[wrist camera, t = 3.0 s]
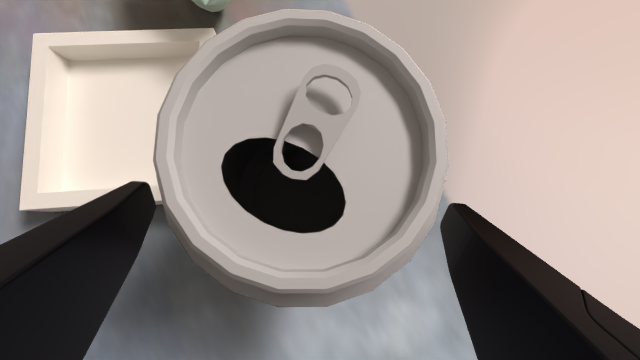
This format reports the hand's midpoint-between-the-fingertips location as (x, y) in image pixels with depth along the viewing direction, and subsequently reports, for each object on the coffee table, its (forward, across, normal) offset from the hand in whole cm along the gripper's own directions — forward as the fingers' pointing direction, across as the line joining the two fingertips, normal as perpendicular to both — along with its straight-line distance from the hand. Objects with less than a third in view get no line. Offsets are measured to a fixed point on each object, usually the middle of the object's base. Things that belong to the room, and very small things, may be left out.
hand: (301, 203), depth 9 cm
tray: (+10, +10, +3) cm, 14 cm away
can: (+7, 0, +6) cm, 9 cm away
